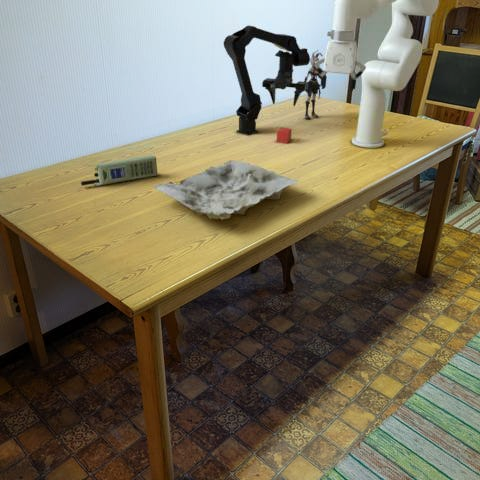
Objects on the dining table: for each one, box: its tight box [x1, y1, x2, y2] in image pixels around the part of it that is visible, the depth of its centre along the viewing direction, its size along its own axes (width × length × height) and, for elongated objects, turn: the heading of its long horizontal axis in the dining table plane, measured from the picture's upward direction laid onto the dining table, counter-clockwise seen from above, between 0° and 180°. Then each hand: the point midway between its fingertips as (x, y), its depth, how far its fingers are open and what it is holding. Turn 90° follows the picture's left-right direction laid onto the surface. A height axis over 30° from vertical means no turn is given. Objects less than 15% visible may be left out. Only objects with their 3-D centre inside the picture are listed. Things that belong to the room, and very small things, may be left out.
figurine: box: [303, 49, 324, 120], centre depth 227 cm, size 15×6×30 cm, turn 132°
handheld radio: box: [80, 155, 159, 187], centre depth 164 cm, size 7×3×25 cm
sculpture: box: [153, 160, 300, 221], centre depth 153 cm, size 38×6×30 cm
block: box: [276, 127, 292, 144], centre depth 203 cm, size 5×4×5 cm
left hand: (283, 105), depth 218 cm, fingers open, 9 cm apart
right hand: (337, 89), depth 174 cm, fingers open, 9 cm apart
